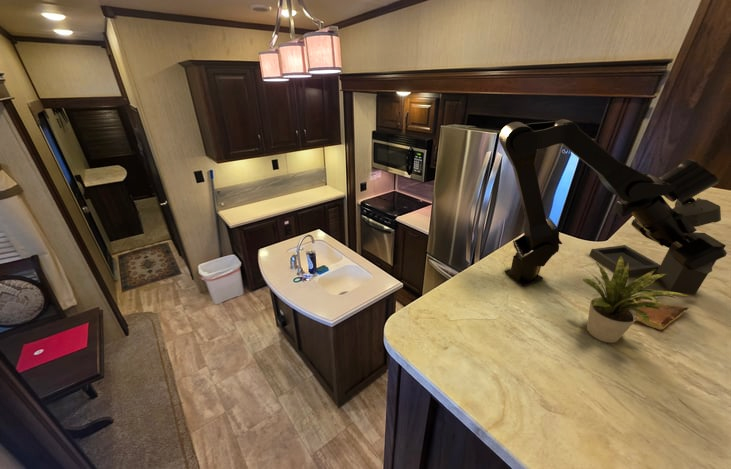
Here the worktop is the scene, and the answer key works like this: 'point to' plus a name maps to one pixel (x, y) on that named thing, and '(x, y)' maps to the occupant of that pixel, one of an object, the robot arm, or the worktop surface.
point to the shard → (661, 315)
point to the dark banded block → (682, 270)
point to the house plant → (621, 302)
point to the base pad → (633, 258)
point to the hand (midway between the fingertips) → (692, 259)
